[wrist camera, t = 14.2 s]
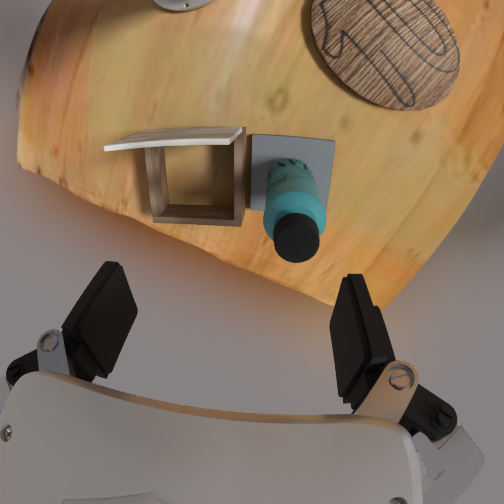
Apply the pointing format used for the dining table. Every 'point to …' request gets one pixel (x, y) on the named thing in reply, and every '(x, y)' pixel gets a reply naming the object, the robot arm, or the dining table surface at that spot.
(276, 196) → the beverage bottle
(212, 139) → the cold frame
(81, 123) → the dining table surface
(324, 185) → the slate mat
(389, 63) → the trivet
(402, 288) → the dining table surface
